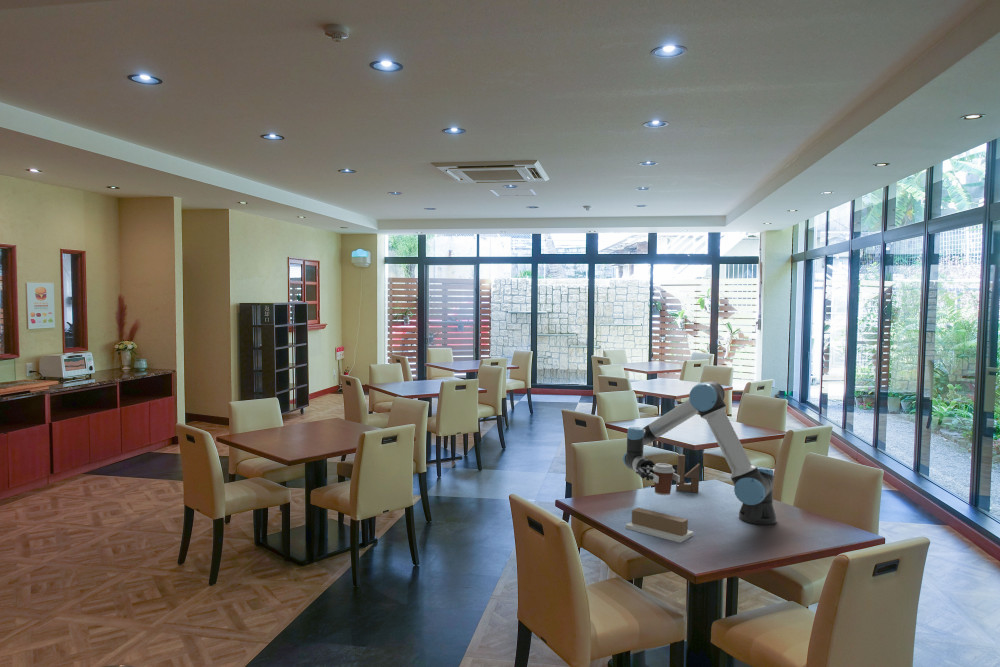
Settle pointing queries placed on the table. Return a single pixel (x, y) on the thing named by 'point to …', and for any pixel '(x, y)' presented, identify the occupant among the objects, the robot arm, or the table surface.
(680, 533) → the stand
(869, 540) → the table surface
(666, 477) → the coffee cup
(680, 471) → the brown wooden angular stand
